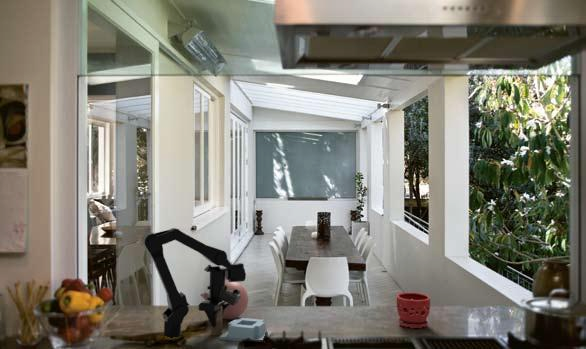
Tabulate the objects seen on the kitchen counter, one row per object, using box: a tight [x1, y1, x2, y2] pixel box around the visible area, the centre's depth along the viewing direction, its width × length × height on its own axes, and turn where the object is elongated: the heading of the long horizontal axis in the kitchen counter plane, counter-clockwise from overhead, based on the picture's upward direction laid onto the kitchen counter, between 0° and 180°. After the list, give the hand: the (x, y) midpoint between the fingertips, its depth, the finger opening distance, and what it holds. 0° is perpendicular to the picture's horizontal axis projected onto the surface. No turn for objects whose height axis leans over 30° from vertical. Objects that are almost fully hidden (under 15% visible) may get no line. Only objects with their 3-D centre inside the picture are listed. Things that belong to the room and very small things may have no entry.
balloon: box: [199, 280, 249, 320], centre depth 211 cm, size 15×20×15 cm
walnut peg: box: [210, 305, 223, 336], centre depth 188 cm, size 4×4×10 cm
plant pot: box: [396, 292, 431, 329], centre depth 202 cm, size 13×13×12 cm
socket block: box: [219, 317, 274, 342], centre depth 184 cm, size 12×16×5 cm
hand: (216, 325), depth 188 cm, fingers open, 5 cm apart
